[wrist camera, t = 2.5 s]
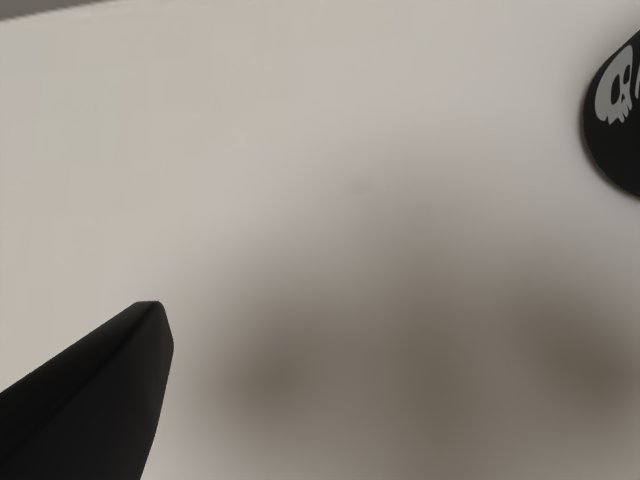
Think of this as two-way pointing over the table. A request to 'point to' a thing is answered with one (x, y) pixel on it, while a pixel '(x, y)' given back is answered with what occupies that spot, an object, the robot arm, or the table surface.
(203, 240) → the table surface
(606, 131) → the beverage can
